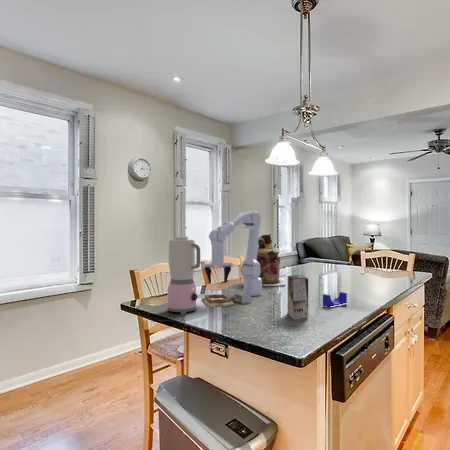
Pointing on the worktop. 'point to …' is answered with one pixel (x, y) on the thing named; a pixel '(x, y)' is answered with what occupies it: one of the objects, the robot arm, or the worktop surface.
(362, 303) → the worktop surface
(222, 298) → the tray
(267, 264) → the cookie jar
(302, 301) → the coffee box
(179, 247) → the blender
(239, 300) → the block
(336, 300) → the cable clip
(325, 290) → the worktop surface
